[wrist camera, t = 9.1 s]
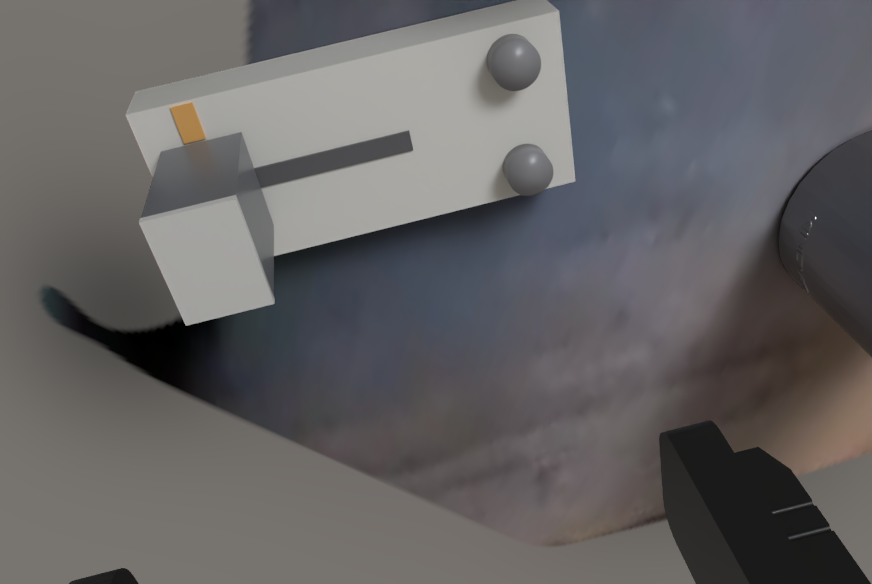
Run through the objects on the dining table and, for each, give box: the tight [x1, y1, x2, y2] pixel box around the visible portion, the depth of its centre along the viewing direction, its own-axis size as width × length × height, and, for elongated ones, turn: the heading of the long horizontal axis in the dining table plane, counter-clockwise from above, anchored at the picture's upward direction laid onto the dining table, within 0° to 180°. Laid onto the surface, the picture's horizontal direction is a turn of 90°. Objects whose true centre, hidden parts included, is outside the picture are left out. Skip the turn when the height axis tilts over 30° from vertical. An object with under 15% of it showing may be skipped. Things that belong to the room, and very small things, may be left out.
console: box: [126, 0, 575, 256], centre depth 32 cm, size 16×7×4 cm, turn 101°
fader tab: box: [139, 132, 274, 326], centre depth 28 cm, size 3×4×6 cm
